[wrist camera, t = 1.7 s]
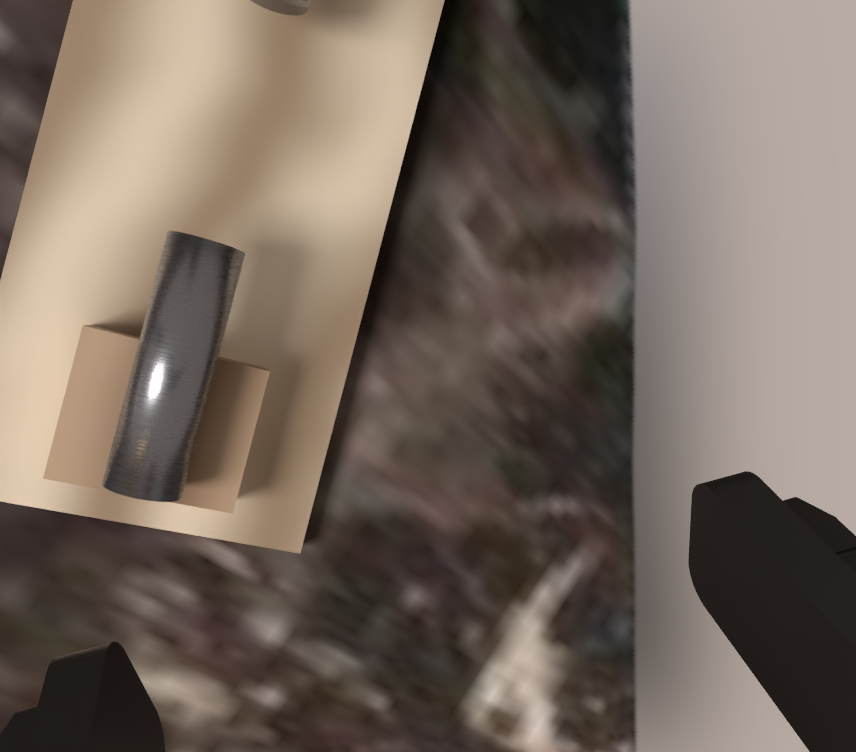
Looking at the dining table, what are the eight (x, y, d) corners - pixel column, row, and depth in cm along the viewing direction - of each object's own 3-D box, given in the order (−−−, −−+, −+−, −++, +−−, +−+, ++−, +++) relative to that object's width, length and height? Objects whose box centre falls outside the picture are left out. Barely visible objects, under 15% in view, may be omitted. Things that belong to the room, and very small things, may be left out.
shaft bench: (-45, 485, 26) (-76, 506, 23) (160, -308, 26) (156, -387, 23) (297, 545, 29) (307, 570, 26) (478, -150, 29) (508, -200, 26)
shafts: (106, 475, 24) (97, 491, 22) (294, -245, 24) (303, -304, 22) (182, 488, 25) (180, 506, 23) (364, -210, 25) (380, -263, 23)
